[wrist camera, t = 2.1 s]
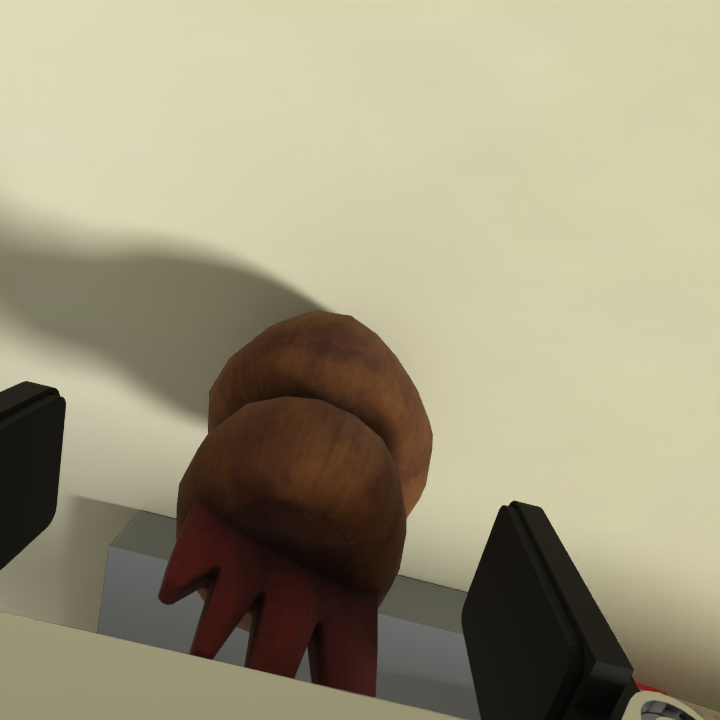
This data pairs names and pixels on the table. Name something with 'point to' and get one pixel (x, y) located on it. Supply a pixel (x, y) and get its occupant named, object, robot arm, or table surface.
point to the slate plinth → (394, 659)
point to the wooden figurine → (301, 499)
